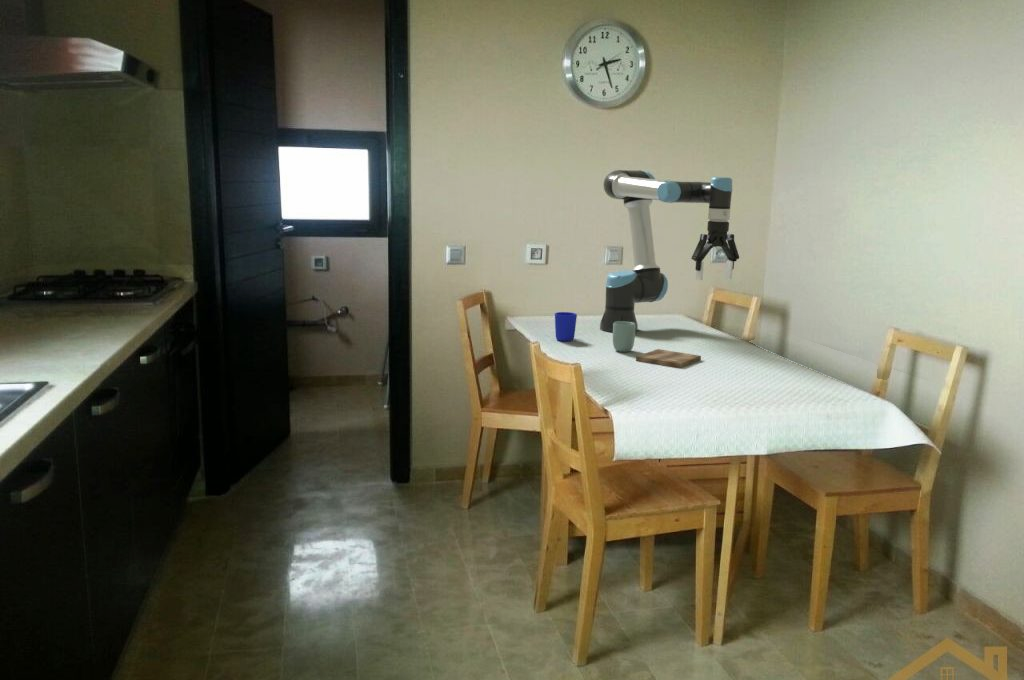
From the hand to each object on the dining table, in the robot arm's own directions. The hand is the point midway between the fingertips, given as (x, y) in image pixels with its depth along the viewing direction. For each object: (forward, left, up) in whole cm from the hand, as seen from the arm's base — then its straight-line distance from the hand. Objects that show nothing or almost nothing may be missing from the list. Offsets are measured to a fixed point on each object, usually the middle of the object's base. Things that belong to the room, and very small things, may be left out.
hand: (713, 279), depth 293 cm
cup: (-18, -33, -25) cm, 45 cm away
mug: (-45, -29, -25) cm, 59 cm away
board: (+1, -36, -24) cm, 44 cm away
